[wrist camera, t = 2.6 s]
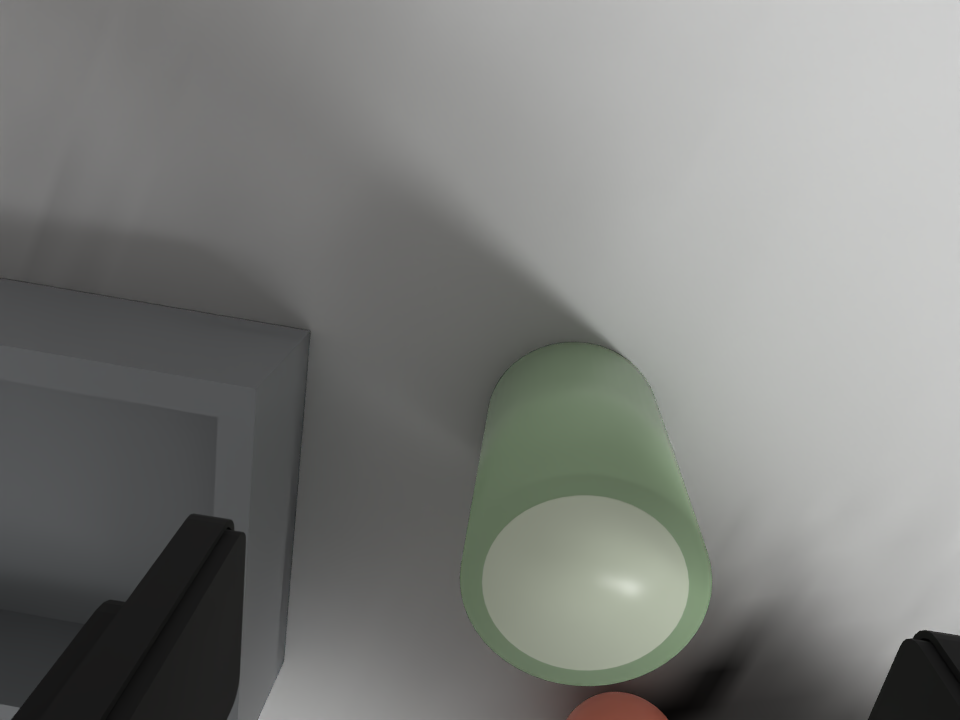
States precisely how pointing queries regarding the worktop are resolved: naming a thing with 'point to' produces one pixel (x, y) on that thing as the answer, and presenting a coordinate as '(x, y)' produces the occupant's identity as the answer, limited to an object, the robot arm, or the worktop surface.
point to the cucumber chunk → (581, 524)
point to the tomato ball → (616, 708)
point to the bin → (139, 465)
